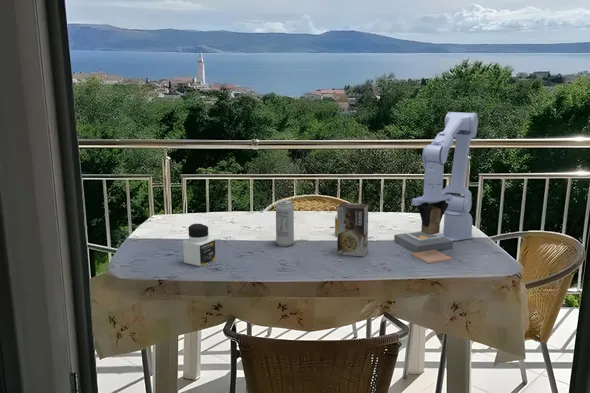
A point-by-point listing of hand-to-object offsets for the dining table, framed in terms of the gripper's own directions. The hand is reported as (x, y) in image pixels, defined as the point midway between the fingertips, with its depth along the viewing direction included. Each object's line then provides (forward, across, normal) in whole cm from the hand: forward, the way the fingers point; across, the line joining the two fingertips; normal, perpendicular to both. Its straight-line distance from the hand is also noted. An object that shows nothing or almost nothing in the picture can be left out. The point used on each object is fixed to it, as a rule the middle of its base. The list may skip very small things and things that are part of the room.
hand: (431, 225), depth 181 cm
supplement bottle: (+10, +14, -32) cm, 36 cm away
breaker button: (+10, -5, -9) cm, 14 cm away
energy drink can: (+10, +37, -31) cm, 49 cm away
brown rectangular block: (+2, 0, 0) cm, 3 cm away
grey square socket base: (+10, -5, -10) cm, 15 cm away
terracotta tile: (+10, +1, +2) cm, 10 cm away
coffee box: (+10, +21, -13) cm, 27 cm away
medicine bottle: (+10, +68, -27) cm, 74 cm away
